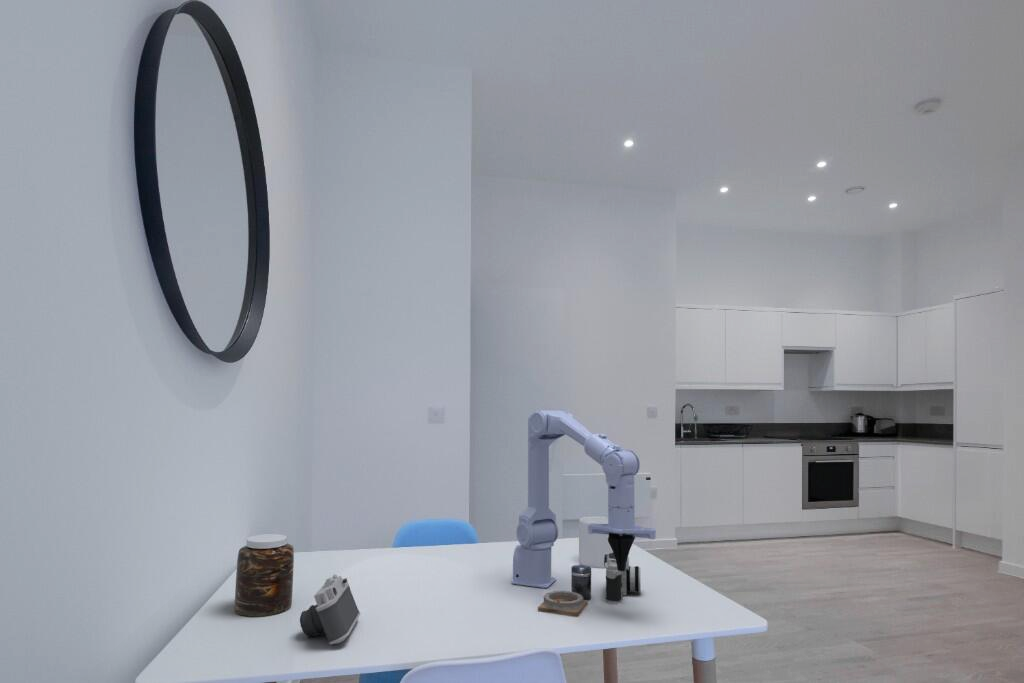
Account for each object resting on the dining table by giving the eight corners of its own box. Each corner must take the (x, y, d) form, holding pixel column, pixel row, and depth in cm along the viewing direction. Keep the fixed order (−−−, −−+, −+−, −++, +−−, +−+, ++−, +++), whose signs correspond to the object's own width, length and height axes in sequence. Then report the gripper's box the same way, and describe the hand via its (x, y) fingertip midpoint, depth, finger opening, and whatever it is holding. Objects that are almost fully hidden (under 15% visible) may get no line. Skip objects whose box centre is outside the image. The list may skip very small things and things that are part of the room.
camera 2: (640, 606, 138) (640, 561, 139) (602, 603, 140) (602, 558, 141) (640, 586, 153) (640, 545, 154) (605, 583, 155) (605, 543, 156)
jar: (296, 598, 140) (299, 531, 142) (286, 616, 129) (290, 543, 130) (241, 600, 138) (245, 532, 140) (227, 618, 127) (231, 544, 128)
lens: (568, 599, 142) (568, 568, 142) (574, 594, 146) (574, 563, 147) (588, 602, 140) (588, 570, 141) (593, 596, 144) (593, 565, 145)
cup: (579, 556, 182) (579, 515, 183) (619, 558, 180) (619, 517, 181) (578, 567, 170) (578, 523, 171) (620, 569, 169) (620, 524, 170)
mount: (537, 611, 134) (537, 599, 134) (550, 599, 142) (550, 587, 142) (577, 616, 131) (577, 604, 131) (587, 604, 139) (587, 592, 139)
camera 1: (365, 612, 128) (346, 566, 129) (351, 638, 112) (330, 585, 113) (323, 632, 127) (305, 585, 128) (303, 661, 111) (282, 607, 112)
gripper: (584, 506, 133) (584, 570, 132) (651, 511, 128) (652, 578, 127) (592, 501, 140) (592, 563, 138) (656, 506, 135) (657, 570, 133)
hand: (621, 569), depth 133 cm, fingers closed
